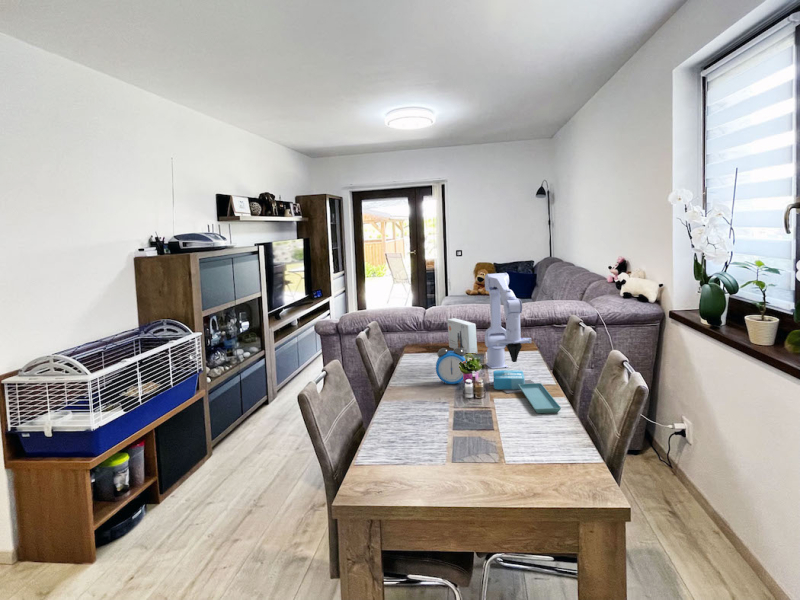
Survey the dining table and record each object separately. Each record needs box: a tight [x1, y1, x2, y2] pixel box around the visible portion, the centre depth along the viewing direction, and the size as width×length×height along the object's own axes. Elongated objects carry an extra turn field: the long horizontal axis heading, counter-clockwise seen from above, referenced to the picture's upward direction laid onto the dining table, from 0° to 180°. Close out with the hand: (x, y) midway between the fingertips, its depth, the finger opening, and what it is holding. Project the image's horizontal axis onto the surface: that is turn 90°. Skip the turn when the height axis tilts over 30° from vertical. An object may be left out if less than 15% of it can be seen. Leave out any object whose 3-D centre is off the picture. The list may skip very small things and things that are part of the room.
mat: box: [501, 379, 535, 395], centre depth 209 cm, size 13×15×1 cm
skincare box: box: [446, 317, 478, 354], centre depth 275 cm, size 21×5×16 cm, turn 25°
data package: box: [492, 369, 526, 390], centre depth 211 cm, size 12×4×12 cm
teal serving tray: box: [518, 382, 562, 414], centre depth 191 cm, size 26×9×2 cm, turn 0°
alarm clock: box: [435, 347, 466, 385], centre depth 219 cm, size 13×6×15 cm, turn 85°
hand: (514, 361), depth 212 cm, fingers closed
